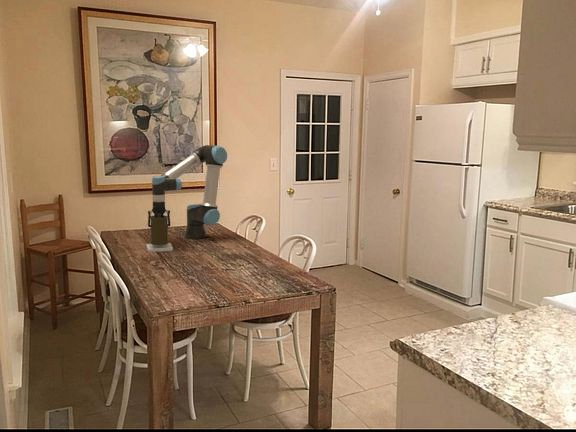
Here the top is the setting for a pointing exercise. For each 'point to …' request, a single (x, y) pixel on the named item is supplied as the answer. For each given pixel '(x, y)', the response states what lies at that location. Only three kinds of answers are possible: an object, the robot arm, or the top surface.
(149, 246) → the trivet
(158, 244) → the canister
